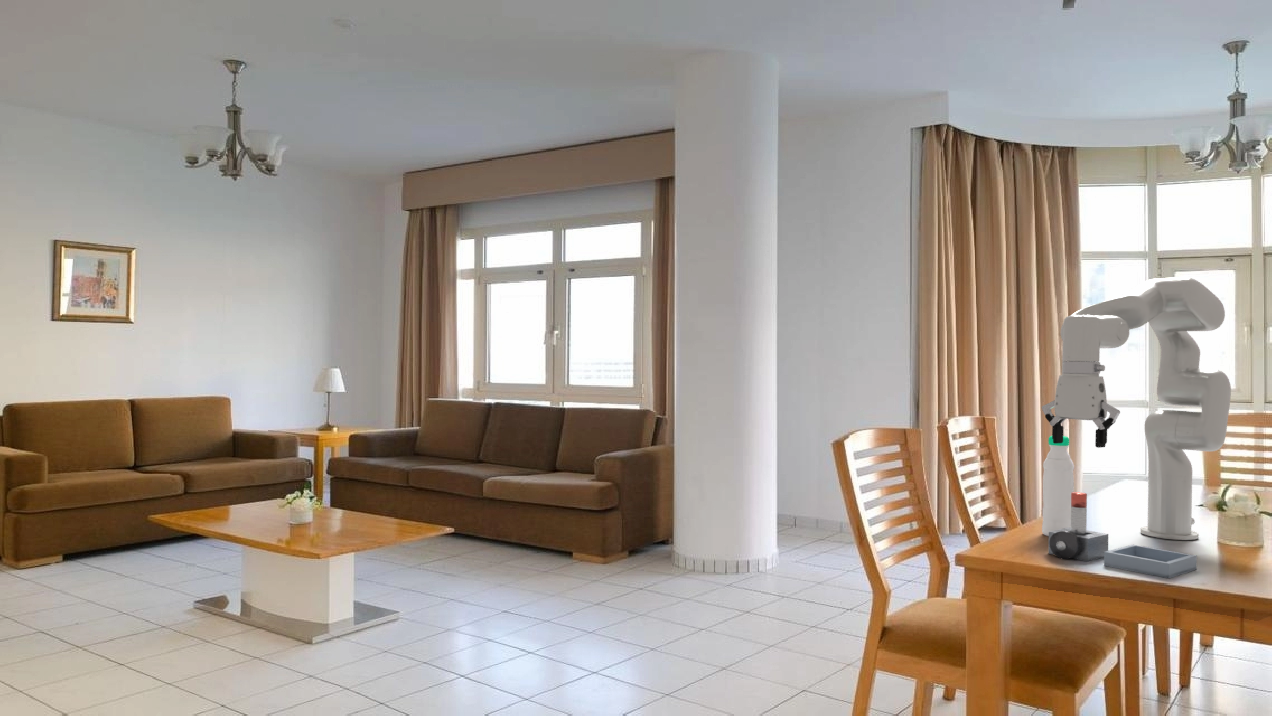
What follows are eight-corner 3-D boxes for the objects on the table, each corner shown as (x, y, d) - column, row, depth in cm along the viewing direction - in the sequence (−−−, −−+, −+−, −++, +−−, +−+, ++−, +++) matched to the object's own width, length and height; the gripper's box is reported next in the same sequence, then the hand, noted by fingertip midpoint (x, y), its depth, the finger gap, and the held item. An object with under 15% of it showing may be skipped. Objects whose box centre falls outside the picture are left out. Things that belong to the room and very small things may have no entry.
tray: (1132, 557, 200) (1133, 544, 200) (1196, 569, 190) (1196, 555, 190) (1104, 565, 193) (1104, 551, 192) (1168, 578, 182) (1168, 563, 182)
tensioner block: (1068, 548, 209) (1069, 523, 209) (1108, 556, 202) (1108, 529, 202) (1040, 555, 202) (1041, 528, 202) (1080, 563, 194) (1080, 535, 194)
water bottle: (1076, 539, 220) (1078, 437, 220) (1046, 537, 221) (1047, 437, 221) (1068, 533, 227) (1070, 435, 227) (1039, 532, 228) (1040, 434, 228)
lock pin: (1074, 552, 205) (1075, 491, 205) (1088, 555, 202) (1089, 493, 202) (1067, 554, 203) (1068, 493, 203) (1081, 557, 200) (1082, 494, 200)
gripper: (1127, 370, 197) (1126, 448, 197) (1052, 369, 211) (1050, 441, 211) (1111, 370, 193) (1109, 449, 193) (1035, 368, 207) (1033, 442, 207)
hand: (1078, 445), depth 202 cm, fingers open, 9 cm apart
